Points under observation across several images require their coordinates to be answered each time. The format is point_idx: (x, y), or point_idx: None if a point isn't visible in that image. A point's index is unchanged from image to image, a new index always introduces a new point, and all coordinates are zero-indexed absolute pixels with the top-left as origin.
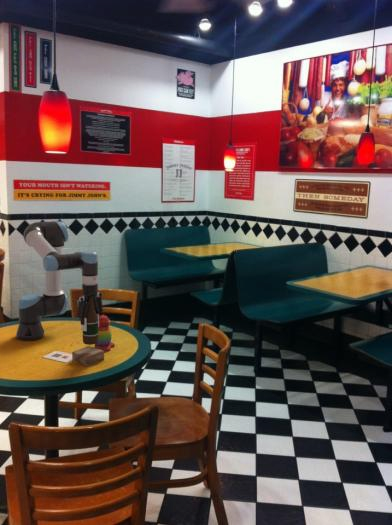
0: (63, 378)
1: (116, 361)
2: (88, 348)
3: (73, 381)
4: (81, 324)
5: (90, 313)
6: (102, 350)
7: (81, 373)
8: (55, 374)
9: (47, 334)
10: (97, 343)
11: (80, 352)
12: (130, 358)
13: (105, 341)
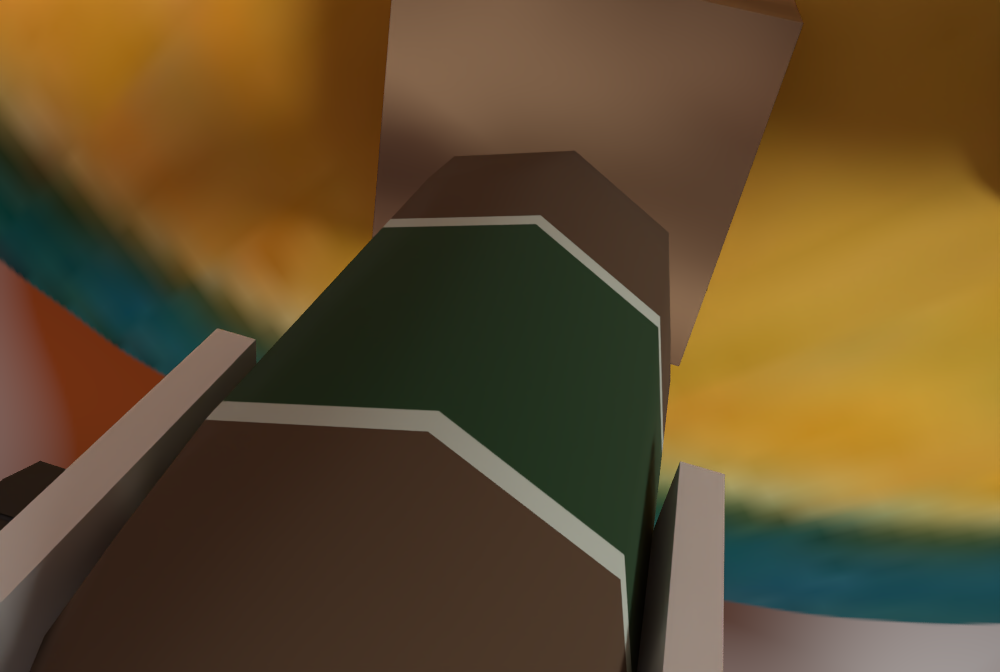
0: (50, 164)
1: (699, 435)
2: (674, 99)
3: (81, 284)
4: (112, 426)
5: None
6: (681, 341)
7: (240, 259)
8: (41, 16)
9: None
10: None
11: (453, 83)
12: (848, 531)
13: None
